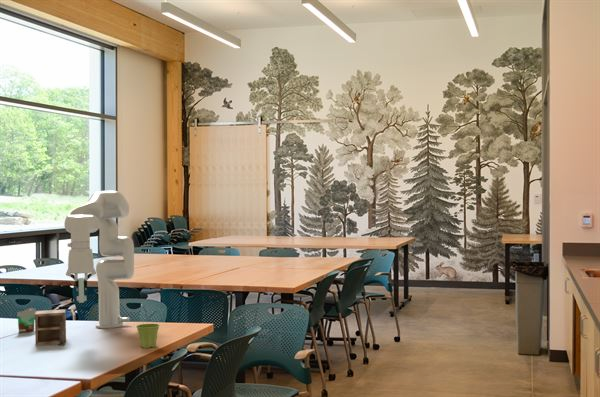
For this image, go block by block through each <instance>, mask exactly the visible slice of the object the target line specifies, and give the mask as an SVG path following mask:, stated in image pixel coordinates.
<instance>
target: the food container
mask: <svg viewBox="0 0 600 397" xmlns="http://www.w3.org/2000/svg"><path fill="white" fill-rule="evenodd" d="M36 311H37V310H36V308H35V307H34V308H33V307H26V309H25V310H22V311H17V314H16V315H17V325H18V328H17V329H18V334H27V333H33V332H35V313H36Z"/></svg>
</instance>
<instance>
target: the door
mask: <svg viewBox="0 0 600 397" xmlns="http://www.w3.org/2000/svg"><path fill="white" fill-rule="evenodd" d="M84 278H85V277H78V280H79V288H76V287H75V290H76V292H78V296H77V295H76V302H78V304H81V303H85V302H86V301H88V299H87V295H85V291H87V288H85V290H84Z"/></svg>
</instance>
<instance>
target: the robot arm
mask: <svg viewBox="0 0 600 397" xmlns="http://www.w3.org/2000/svg"><path fill="white" fill-rule="evenodd" d="M129 213H130V206H129V203H128V200H127V199H126V197H125V196H124V195H123V193H121V192H120V191H117V190H101V191H100V190H99V191H96V192H94V193H93V194H92V195H91V196H90V198H89V200H87V202H86V203H84V204H82V205H80V206H78V207H74V208H73V209H71V210H70V211H69V212H68V214H67V215H66V217H65V220H64V229H65V231H66V232H68V233H70V242H69V243H67V247H68V248H69V247H70V249H69V250H68V257H67V258H68V259H67V260H68V261H67V267H68V268H67V271H66V273H65V276H67V277H70V278H72V279H73V280H74V281H75V282H74V283H75V289H76V288H79V277H78V275H79V274H84V277H83V278H84V291H86V290H85V288H86V289H88V280H89V279H90V278H91V277H92V276H95V275H96V277H97V284H98V285H97V287H98V288H97V289H98V323H96V324H95V327H96V328H97V329H114V328H121V327H123V325H124V323H125V322H130V320H131V319H130V317H126V316H125V317H122V316H121V315H120V314H121V313H120V287H119V286H118V284H117V282H116V281H117V280H118V281H119V280H130V279H133V277H134V273H135V246H134V240H133V238H132V237H130V236H123V235H122V236H119V227H118V224H117V222H116V221H115V220H114V219H118V218H119V219H121V218H126V217H128V215H129ZM97 231H99V253H100V255H101V256H103V257H108V258H109V257H110V258H111V257H112V258H113V257H114V258H115V257H118V258H119V257H120V258H121V257H122V259H101V260H99V261H98V262H97V263H96V266H94V264H95V263H94V253H93V249H92V248H91V242H90V240H91V239H90V238H91V235H90V234H91V233H95V232H97Z"/></svg>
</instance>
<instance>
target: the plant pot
mask: <svg viewBox="0 0 600 397" xmlns="http://www.w3.org/2000/svg"><path fill="white" fill-rule="evenodd" d="M159 327H160V324H159V323H141V324H138V325H136V327H135V328H137V332H138V337H139V343H140V347H141V348H143V349H150V348H155V347H156V346H157V339H158V333H159V332H158V331H159V329H160V328H159Z"/></svg>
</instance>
